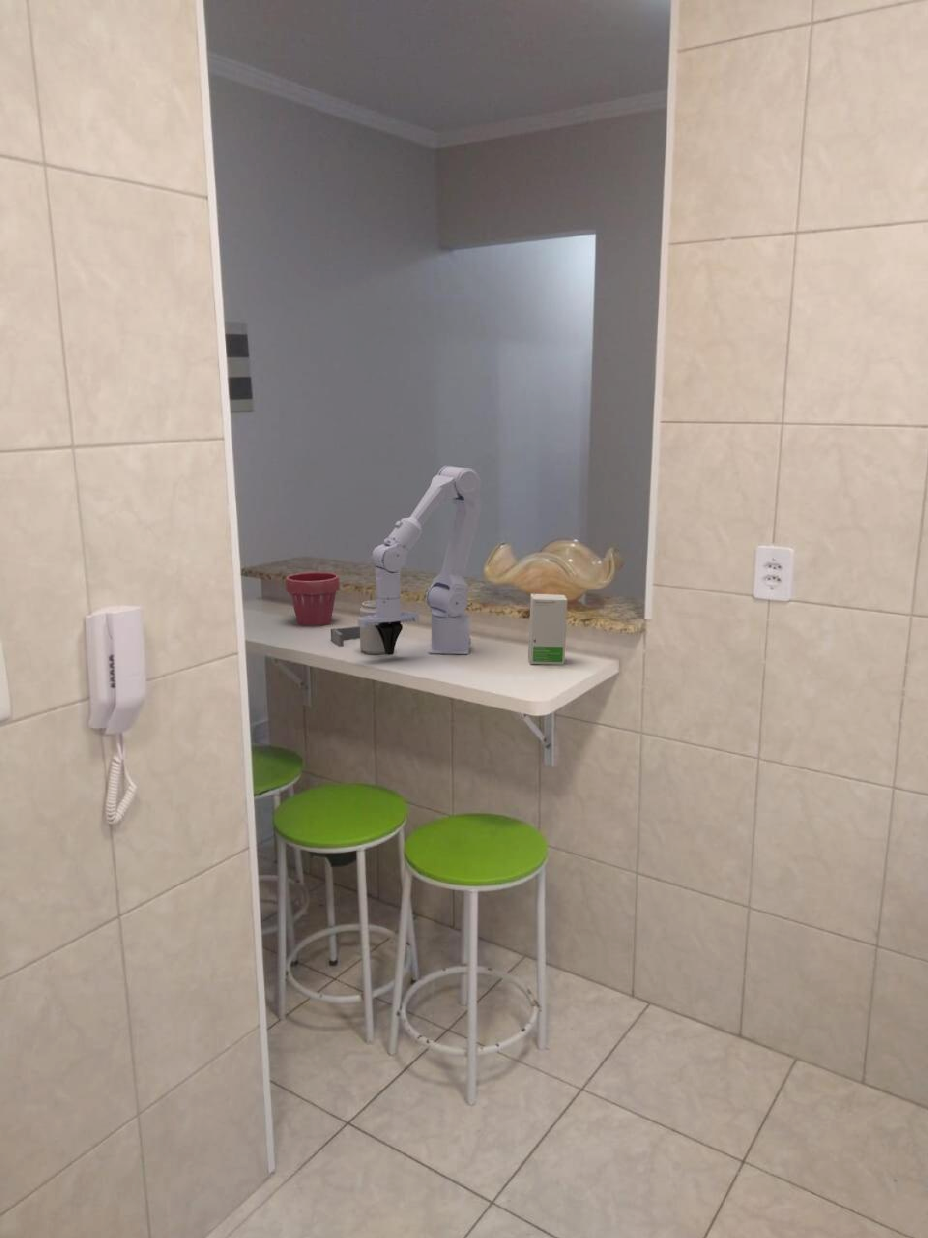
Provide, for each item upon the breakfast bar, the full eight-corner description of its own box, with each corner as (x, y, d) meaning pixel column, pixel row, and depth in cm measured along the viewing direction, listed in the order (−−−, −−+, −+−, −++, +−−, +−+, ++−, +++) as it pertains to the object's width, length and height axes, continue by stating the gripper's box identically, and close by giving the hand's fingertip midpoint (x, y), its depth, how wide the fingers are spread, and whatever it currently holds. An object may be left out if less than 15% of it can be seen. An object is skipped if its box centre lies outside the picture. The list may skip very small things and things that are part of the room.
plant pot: (284, 618, 262) (282, 572, 259) (335, 614, 266) (333, 570, 264) (291, 630, 249) (289, 582, 246) (344, 626, 253) (343, 579, 250)
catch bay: (388, 640, 239) (388, 629, 238) (339, 646, 233) (339, 634, 232) (379, 634, 244) (379, 623, 244) (331, 640, 239) (330, 628, 238)
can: (386, 655, 225) (385, 606, 222) (356, 654, 227) (355, 605, 224) (394, 647, 232) (394, 600, 230) (365, 646, 234) (364, 598, 231)
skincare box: (529, 665, 218) (531, 599, 215) (527, 657, 225) (528, 593, 221) (566, 665, 218) (568, 599, 215) (562, 657, 225) (564, 593, 221)
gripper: (410, 590, 225) (410, 646, 229) (352, 596, 219) (353, 653, 222) (422, 596, 219) (422, 653, 222) (363, 602, 213) (364, 660, 216)
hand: (389, 653), depth 222 cm, fingers closed
